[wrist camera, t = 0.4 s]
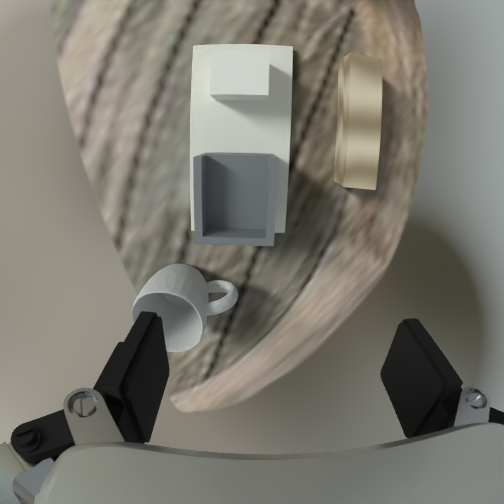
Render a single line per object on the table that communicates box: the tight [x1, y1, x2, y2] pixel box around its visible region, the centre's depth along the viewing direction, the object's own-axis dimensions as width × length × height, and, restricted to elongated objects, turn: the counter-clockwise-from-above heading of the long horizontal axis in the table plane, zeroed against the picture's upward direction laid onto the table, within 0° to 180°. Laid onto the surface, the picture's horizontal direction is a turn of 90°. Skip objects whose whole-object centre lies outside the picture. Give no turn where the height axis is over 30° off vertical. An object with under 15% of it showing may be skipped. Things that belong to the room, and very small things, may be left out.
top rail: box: [333, 53, 382, 190], centre depth 31 cm, size 16×4×5 cm, turn 178°
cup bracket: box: [190, 44, 293, 246], centre depth 30 cm, size 24×12×9 cm, turn 178°
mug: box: [132, 264, 238, 352], centre depth 37 cm, size 13×9×10 cm
